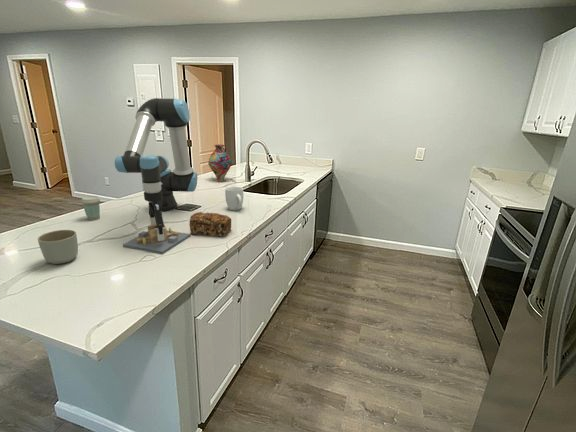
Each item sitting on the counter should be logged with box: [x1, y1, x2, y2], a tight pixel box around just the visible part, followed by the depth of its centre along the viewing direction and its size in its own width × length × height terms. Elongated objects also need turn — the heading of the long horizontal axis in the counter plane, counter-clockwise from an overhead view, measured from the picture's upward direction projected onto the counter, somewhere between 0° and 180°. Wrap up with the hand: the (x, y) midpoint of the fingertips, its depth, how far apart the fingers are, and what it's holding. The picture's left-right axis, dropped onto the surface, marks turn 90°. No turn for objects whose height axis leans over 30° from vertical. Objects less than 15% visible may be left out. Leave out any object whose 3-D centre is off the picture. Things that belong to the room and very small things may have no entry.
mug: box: [224, 186, 244, 211], centre depth 194 cm, size 15×11×13 cm
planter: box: [37, 229, 79, 265], centre depth 126 cm, size 12×12×11 cm
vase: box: [207, 144, 233, 183], centre depth 262 cm, size 19×19×30 cm
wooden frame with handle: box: [135, 224, 179, 243], centre depth 147 cm, size 18×7×6 cm, turn 122°
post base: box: [122, 227, 192, 255], centre depth 147 cm, size 21×21×6 cm
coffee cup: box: [81, 195, 101, 221], centre depth 172 cm, size 8×8×12 cm
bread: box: [188, 211, 232, 238], centre depth 159 cm, size 19×11×10 cm, turn 81°
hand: (157, 235), depth 147 cm, fingers open, 13 cm apart
